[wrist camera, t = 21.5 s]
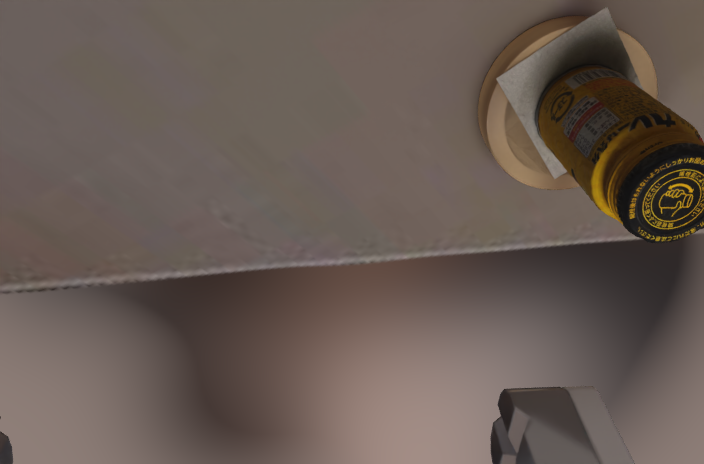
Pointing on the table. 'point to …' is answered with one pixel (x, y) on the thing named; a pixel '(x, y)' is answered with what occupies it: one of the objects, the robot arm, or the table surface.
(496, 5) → the table surface
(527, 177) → the coaster
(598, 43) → the condiment
